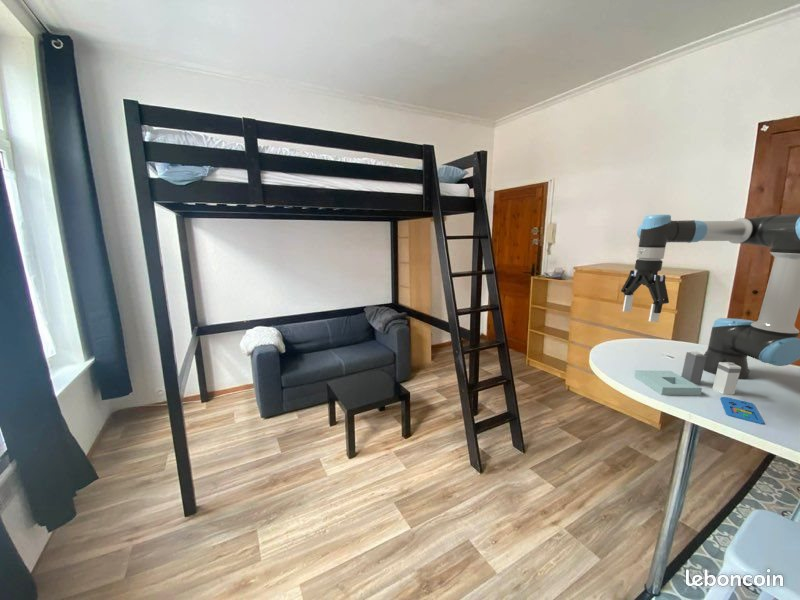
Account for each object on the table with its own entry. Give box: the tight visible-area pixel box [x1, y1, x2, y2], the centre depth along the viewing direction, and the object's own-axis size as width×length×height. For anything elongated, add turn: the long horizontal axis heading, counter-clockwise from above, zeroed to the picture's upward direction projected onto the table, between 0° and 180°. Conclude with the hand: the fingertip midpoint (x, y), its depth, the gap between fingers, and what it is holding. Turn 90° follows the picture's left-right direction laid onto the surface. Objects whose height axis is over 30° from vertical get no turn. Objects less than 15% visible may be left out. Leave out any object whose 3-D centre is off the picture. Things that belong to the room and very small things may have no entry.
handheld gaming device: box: [719, 396, 765, 426], centre depth 104 cm, size 8×1×15 cm
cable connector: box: [712, 362, 741, 395], centre depth 114 cm, size 4×4×12 cm
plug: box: [681, 351, 707, 386], centre depth 121 cm, size 4×4×13 cm
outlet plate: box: [634, 369, 703, 396], centre depth 119 cm, size 14×14×3 cm
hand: (639, 316), depth 114 cm, fingers open, 13 cm apart
